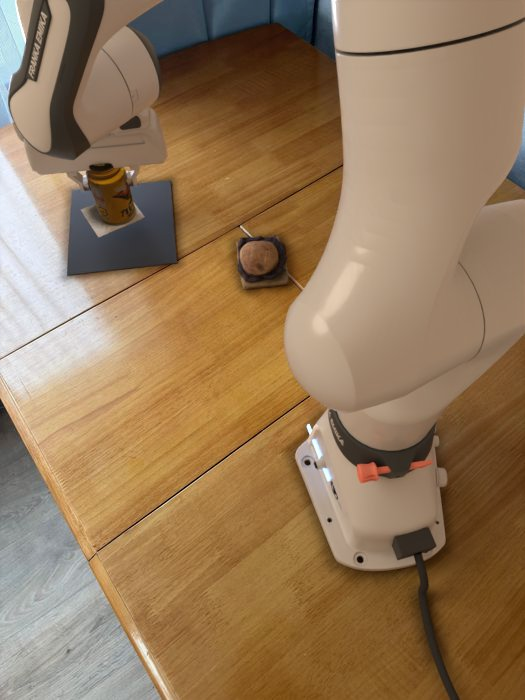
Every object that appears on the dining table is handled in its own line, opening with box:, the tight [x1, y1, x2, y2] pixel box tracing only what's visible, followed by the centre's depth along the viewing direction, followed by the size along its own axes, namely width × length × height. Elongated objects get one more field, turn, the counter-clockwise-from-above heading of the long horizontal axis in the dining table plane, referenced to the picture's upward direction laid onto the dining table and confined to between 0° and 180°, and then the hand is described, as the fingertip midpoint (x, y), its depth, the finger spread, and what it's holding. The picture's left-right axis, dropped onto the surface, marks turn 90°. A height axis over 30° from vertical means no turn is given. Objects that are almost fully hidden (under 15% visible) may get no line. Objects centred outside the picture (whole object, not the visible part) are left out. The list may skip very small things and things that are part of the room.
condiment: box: [81, 163, 144, 237], centre depth 85 cm, size 7×8×12 cm
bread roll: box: [235, 234, 290, 290], centre depth 86 cm, size 11×8×4 cm
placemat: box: [66, 179, 178, 276], centre depth 92 cm, size 20×18×1 cm
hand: (110, 186), depth 85 cm, fingers closed on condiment, 6 cm apart
